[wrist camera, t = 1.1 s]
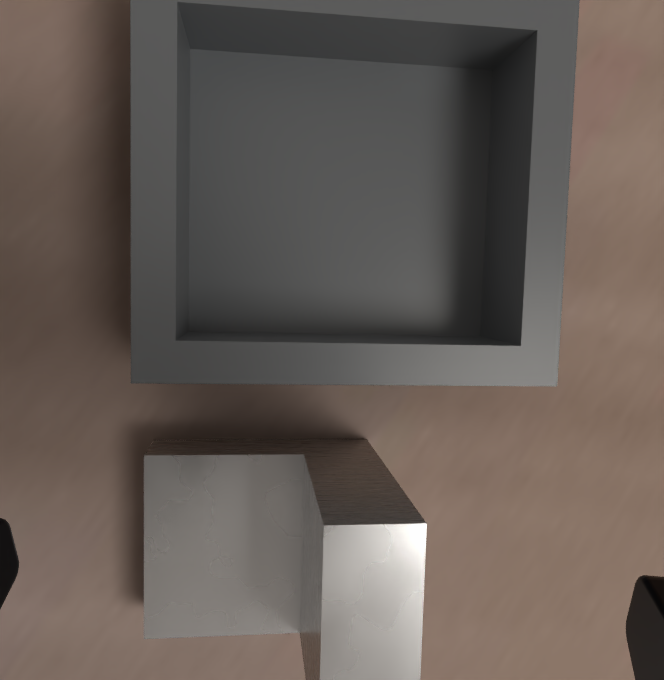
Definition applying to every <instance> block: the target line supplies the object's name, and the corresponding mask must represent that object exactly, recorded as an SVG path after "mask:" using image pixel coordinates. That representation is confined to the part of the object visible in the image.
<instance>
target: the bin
mask: <svg viewBox="0 0 664 680" xmlns="http://www.w3.org/2000/svg"><path fill="white" fill-rule="evenodd" d="M578 17H579V0H130V55H131V383H158V384H300V385H443V386H557V380H558V363H559V345H560V328H561V311H562V294H563V276H564V259H565V242H566V224H567V207H568V190H569V172H570V155H571V138H572V120H573V103H574V86H575V69H576V51H577V34H578Z"/></svg>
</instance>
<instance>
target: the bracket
mask: <svg viewBox="0 0 664 680" xmlns="http://www.w3.org/2000/svg"><path fill="white" fill-rule="evenodd" d="M426 525H427V523H426V522H425V521H424V519H423V518H422V516H421V515H420V513H419V512H418V511H417V509H416V508H415V506H414V505H413V504H412V502H411V501H410V499H409V498H408V497H407V495H406V494H405V492H404V491H403V490H402V488H401V487H400V485H399V484H398V482H397V481H396V480H395V478H394V477H393V475H392V474H391V473H390V471H389V470H388V468H387V467H386V466H385V464H384V463H383V461H382V460H381V459H380V457H379V456H378V454H377V453H376V451H375V450H374V449H373V447H372V446H371V444H370V443H369V442H368V440H367V439H234V440H154V441H153V442H152V444H151V445H150V447H149V448H148V450H147V452H146V453H145V455H144V639H158V638H183V637H207V636H232V635H256V634H281V633H300V638H301V646H302V654H303V662H304V670H305V678H306V680H420V672H421V648H422V623H423V599H424V574H425V550H426Z"/></svg>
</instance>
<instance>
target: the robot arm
mask: <svg viewBox="0 0 664 680" xmlns="http://www.w3.org/2000/svg"><path fill="white" fill-rule="evenodd" d="M18 568H19V560H18V555H17V551H16V548H15V544H14V540H13V536H12V532H11V528H10V525H9V523H8V522H7V521H6V520H4V519H2V518H0V609H1V607H2V605H3V603H4V601H5V599H6V597H7V595H8V593H9V591H10V589H11V587H12V585H13V583H14V581H15V579H16V576H17V573H18ZM626 637H627V643H628V647H629V652H630V657H631V661H632V666H633V671H634V676H635V680H664V577H658V576H647V575H643V576H640V577H639V578H638V579H637V581H636V583H635V587H634V591H633V595H632V599H631V603H630V607H629V612H628V616H627V620H626Z"/></svg>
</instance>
